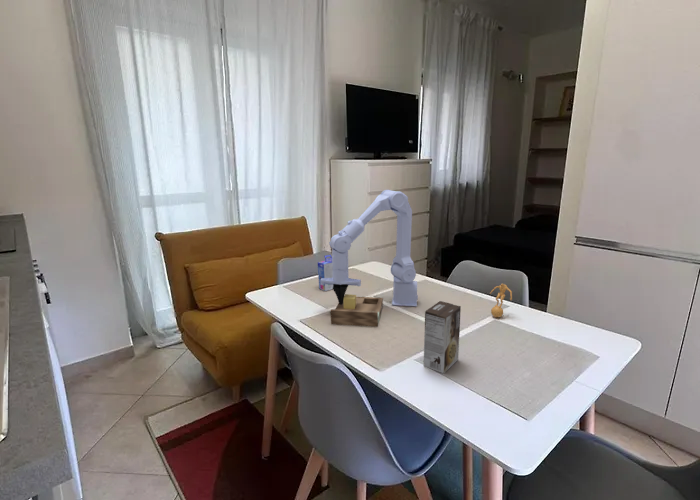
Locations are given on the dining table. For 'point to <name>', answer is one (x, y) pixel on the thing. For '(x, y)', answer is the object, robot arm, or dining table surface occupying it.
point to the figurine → (497, 310)
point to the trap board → (359, 312)
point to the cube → (349, 301)
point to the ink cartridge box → (325, 272)
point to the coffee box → (441, 336)
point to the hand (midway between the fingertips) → (341, 303)
